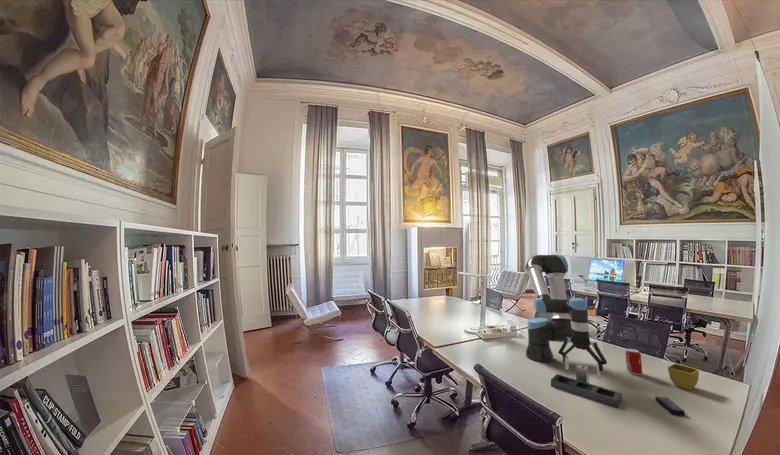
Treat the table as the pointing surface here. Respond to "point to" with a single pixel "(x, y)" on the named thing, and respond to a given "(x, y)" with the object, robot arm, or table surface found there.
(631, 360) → the beverage can
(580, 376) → the block
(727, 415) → the table surface
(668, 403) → the multiport hub
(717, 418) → the table surface
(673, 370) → the flower pot
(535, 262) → the robot arm
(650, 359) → the table surface
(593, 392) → the rack rail
